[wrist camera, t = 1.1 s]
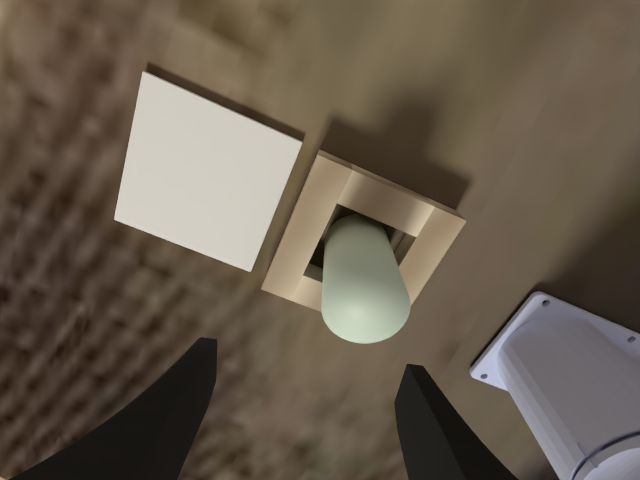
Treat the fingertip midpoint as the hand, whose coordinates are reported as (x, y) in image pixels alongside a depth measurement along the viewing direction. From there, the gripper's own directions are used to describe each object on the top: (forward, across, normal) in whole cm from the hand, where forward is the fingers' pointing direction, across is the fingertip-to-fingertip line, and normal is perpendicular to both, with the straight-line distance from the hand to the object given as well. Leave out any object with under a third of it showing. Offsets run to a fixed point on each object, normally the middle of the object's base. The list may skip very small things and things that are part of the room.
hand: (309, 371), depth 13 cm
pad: (+10, +7, -4) cm, 13 cm away
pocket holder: (+10, -2, -1) cm, 10 cm away
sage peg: (+10, -2, -1) cm, 10 cm away
